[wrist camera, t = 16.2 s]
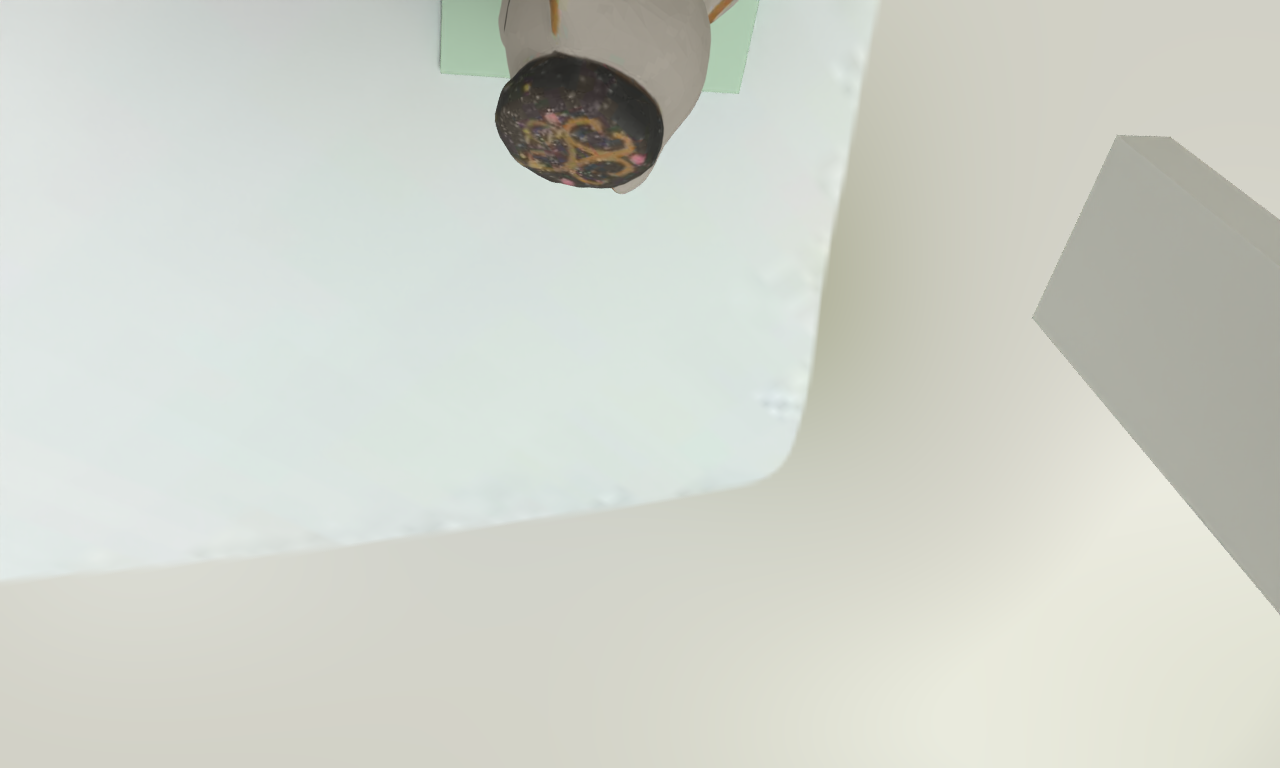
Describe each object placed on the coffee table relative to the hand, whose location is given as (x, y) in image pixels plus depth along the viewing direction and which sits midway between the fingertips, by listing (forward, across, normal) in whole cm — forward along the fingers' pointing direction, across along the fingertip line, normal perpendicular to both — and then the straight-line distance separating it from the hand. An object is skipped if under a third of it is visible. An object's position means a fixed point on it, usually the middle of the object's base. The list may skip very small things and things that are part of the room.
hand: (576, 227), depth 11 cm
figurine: (+27, +5, -4) cm, 28 cm away
